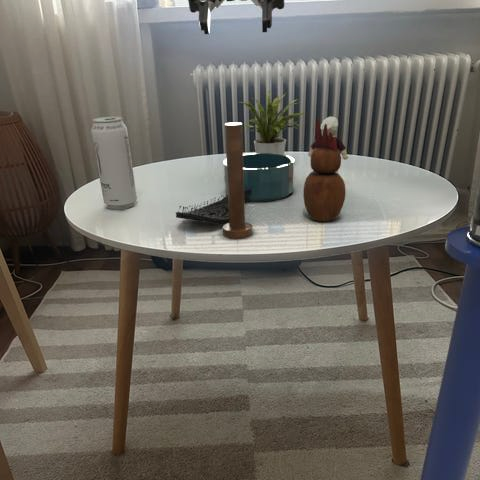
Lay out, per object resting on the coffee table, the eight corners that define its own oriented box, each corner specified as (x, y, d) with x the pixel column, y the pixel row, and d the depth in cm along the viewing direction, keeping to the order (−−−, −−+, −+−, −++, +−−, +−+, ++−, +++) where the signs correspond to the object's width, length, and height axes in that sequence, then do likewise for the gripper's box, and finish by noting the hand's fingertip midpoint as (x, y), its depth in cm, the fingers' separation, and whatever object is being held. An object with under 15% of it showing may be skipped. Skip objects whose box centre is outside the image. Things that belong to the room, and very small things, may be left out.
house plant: (258, 182, 101) (257, 96, 93) (223, 170, 112) (219, 91, 103) (312, 171, 108) (315, 89, 100) (274, 160, 118) (274, 85, 110)
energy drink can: (102, 203, 93) (87, 118, 85) (134, 198, 94) (122, 115, 87) (107, 212, 88) (91, 122, 80) (140, 207, 89) (128, 119, 82)
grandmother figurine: (345, 182, 99) (350, 114, 93) (345, 187, 96) (351, 118, 90) (307, 181, 101) (309, 115, 94) (306, 186, 97) (308, 118, 91)
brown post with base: (257, 231, 77) (255, 121, 69) (243, 240, 73) (240, 127, 65) (232, 227, 79) (227, 120, 71) (217, 236, 75) (210, 125, 67)
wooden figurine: (297, 215, 83) (299, 119, 75) (327, 210, 85) (332, 116, 77) (317, 227, 77) (322, 126, 70) (348, 221, 79) (356, 122, 71)
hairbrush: (281, 179, 92) (206, 210, 73) (281, 198, 93) (208, 235, 74) (243, 175, 95) (162, 204, 76) (243, 194, 97) (164, 227, 78)
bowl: (303, 187, 97) (304, 155, 94) (275, 206, 87) (275, 171, 84) (245, 180, 103) (244, 151, 100) (212, 198, 93) (210, 165, 90)
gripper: (187, -81, 72) (182, 8, 68) (284, -86, 71) (285, 4, 67) (195, -33, 80) (191, 50, 76) (283, -37, 79) (284, 47, 75)
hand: (235, 28), depth 71 cm, fingers open, 8 cm apart
